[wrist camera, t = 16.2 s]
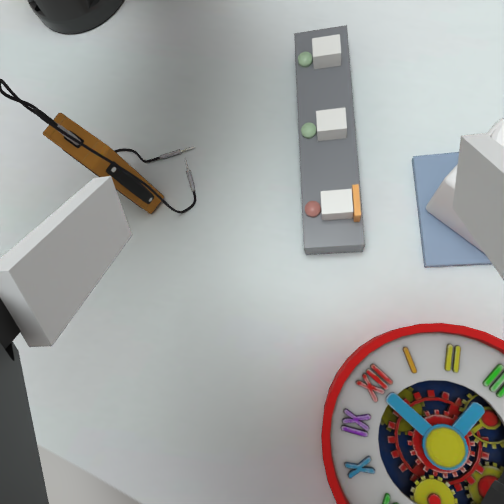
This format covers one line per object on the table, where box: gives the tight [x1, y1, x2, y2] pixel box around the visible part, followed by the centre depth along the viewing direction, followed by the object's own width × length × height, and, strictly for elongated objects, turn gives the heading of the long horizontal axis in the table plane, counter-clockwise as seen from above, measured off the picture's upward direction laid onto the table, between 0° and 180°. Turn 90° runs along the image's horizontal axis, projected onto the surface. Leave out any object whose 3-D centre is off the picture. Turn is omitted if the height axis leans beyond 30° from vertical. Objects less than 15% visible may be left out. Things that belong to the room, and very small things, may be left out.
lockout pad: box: [412, 152, 492, 267], centre depth 41 cm, size 12×12×1 cm
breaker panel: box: [294, 25, 365, 255], centre depth 44 cm, size 26×6×5 cm, turn 1°
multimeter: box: [0, 79, 196, 214], centre depth 40 cm, size 15×10×20 cm
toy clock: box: [321, 323, 504, 504], centre depth 35 cm, size 20×6×20 cm
